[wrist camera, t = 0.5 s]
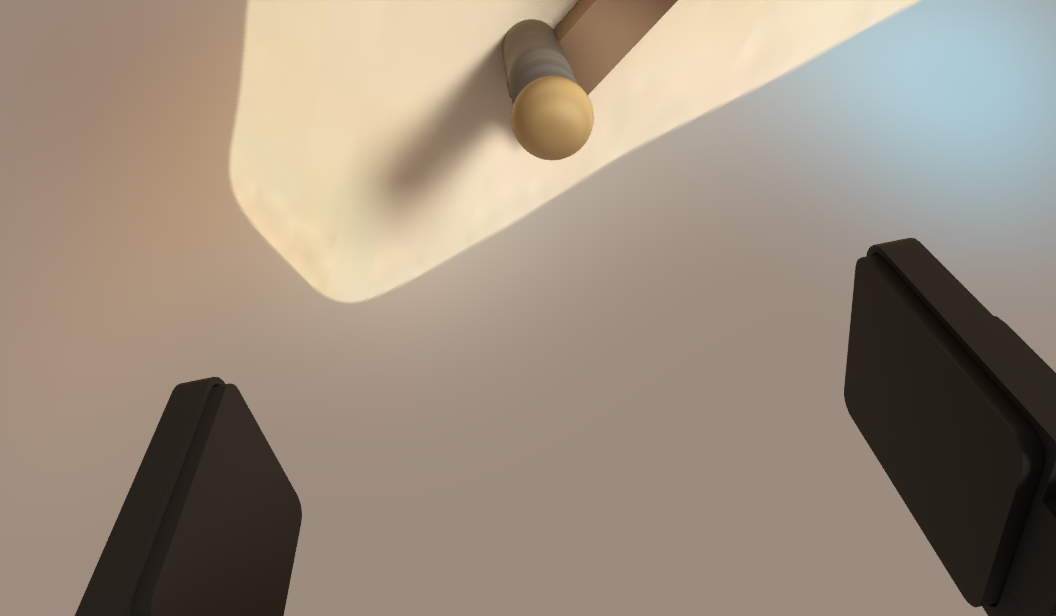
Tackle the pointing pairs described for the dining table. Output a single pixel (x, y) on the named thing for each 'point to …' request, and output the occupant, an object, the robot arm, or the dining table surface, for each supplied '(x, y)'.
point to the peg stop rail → (569, 69)
